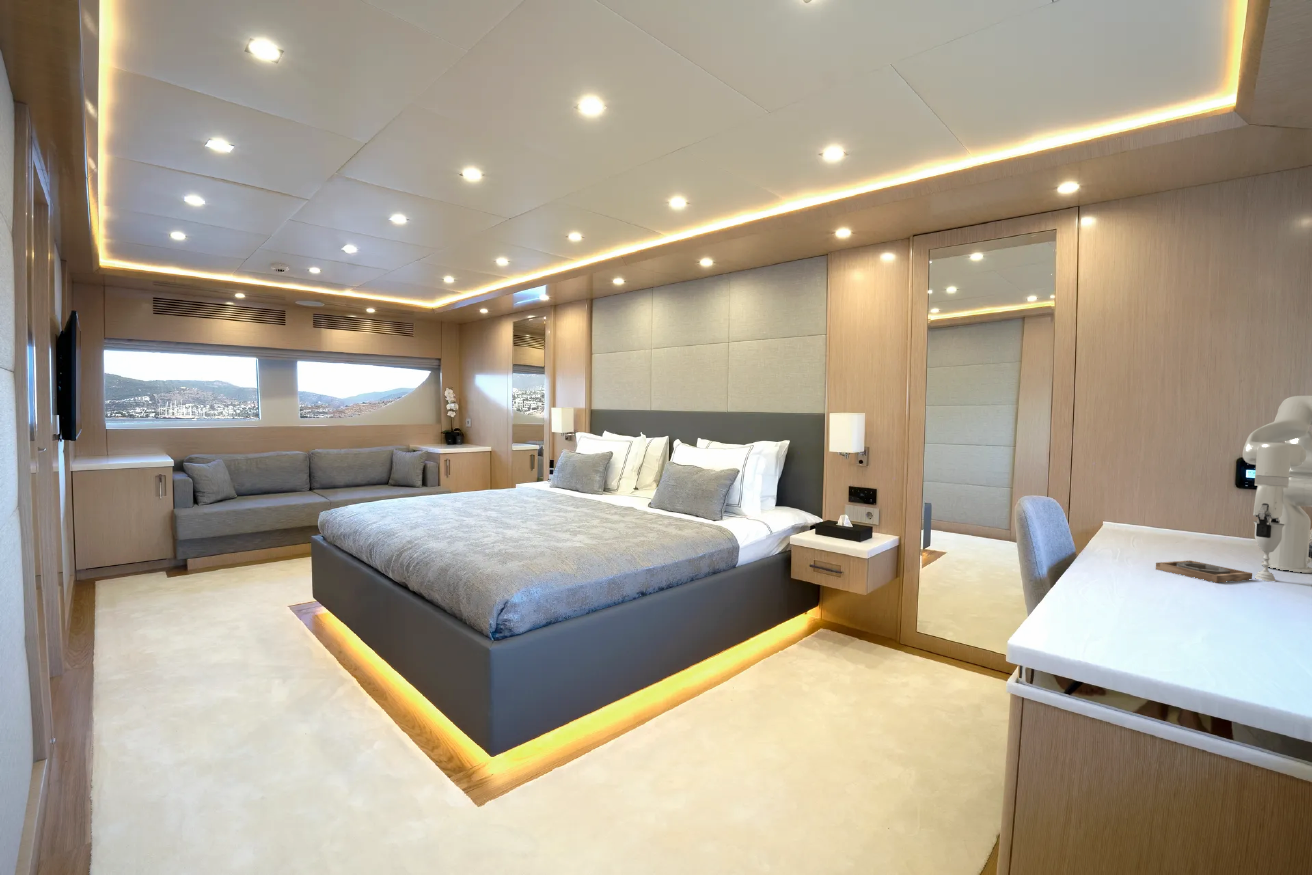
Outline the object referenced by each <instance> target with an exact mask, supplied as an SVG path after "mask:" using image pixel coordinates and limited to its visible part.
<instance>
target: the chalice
mask: <svg viewBox="0 0 1312 875" xmlns="http://www.w3.org/2000/svg"><path fill="white" fill-rule="evenodd" d="M1252 522H1253V523H1254V525H1255V526H1254V538H1255V542H1256V544H1257V546H1258V548H1259V550H1260V551H1261V552H1264V553H1263V554H1264V555H1263V557H1262V559H1263V561H1264V563H1262V564H1263V569H1262V570H1261V571H1257V572H1256V574H1255V576H1254V577H1255V578H1256V579H1255V578H1254V579H1255V580H1258V579H1262V580H1261V581H1263V580H1265V581H1264V582H1270V581H1276V582H1277V580H1276V579H1275V578H1276V577H1275V576H1274V573H1272V572H1270V571H1269V568H1268V566H1269V565H1270V564H1269V563H1268V561H1269V559H1270V558H1269V552H1273V551H1274V550H1275V549H1276V548H1277V546H1278V545H1279V543H1280V542H1281V538H1282V528H1283V526H1284V525H1285V524H1281V523H1274V522H1271V523H1270V525H1271V537H1270V538H1264V537H1257V536H1256V527H1257V520H1253V521H1252Z"/></svg>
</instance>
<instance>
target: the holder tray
mask: <svg viewBox="0 0 1312 875" xmlns="http://www.w3.org/2000/svg"><path fill="white" fill-rule="evenodd" d="M1155 570H1158V571H1161V570H1163V571H1162V572H1166V573H1170V572H1172V573H1171V574H1174V573H1175V575H1179V574H1182V575H1181V576H1183V575H1185V576H1184V577H1189V578H1192V577H1195V578H1194V579H1196V578H1198V579H1197V580H1201V579H1204V580H1203V581H1205V580H1207V581H1206V582H1210V581H1213V582H1212V583H1214V582H1215V584H1220V583H1219V582H1223V583H1227V582H1226V581H1235V582H1243V581H1242V580H1246V581H1250V580H1249V579H1252V580H1253V572H1249V571H1244V570H1239V569H1235V568H1234V569H1233V568H1230V567H1224V566H1220V565H1214V564H1209V563H1204V562H1200V561H1196V560H1195V561H1194V560H1178V561H1177V560H1176V561H1175V560H1174V561H1163V562H1162V561H1160V562H1156V563H1155Z"/></svg>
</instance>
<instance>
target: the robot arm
mask: <svg viewBox="0 0 1312 875" xmlns="http://www.w3.org/2000/svg"><path fill="white" fill-rule="evenodd" d="M1311 426H1312V395H1294V396H1290V397H1288V398H1285V399H1284V400H1283V401H1282V402H1281V404H1280V405H1279V407H1278V409H1277V413H1276V416H1275V418H1274V421H1272V422H1270V423H1267V424H1265V425H1263V426H1260V427H1258V428H1257V429H1254V431H1252V432H1251V433H1249V435H1248V436H1247V439H1246V441H1245V444H1243V445H1244V446H1243V450H1242V459H1243V461H1245V463H1247V464H1249V465H1254V466H1255V472H1254V473H1255V477H1254V486H1257V487H1256V492H1255V497H1254V503H1253V504H1254V506H1253V514H1252V515H1253V516H1254V517H1255V518H1257V520H1256V521H1257V527H1256V536H1257V537H1264V538H1270V537H1271V525H1270V523H1271V522H1274V523H1281V524H1285V525H1284V526H1283V528H1282V538H1281V542H1280V543H1279V545H1278V546H1277V548H1276V549H1275V550H1274V551H1273V552H1269V558H1270V559H1269V561H1268V563H1269V564H1270V565H1269V566H1268V567H1270V568H1269V569H1273V568H1276V569H1275V570H1278V569H1280V571H1283V570H1289V571H1288V572H1290V571H1293V572H1292V573H1300V572H1302V573H1301V574H1312V567H1310V566H1308V565H1309V564H1311V563H1312V558H1311V557H1309V552H1310V551H1309V550H1310V538H1311V537H1310V536H1311V523H1312V521H1311V518H1310V516H1309V514H1307V512H1306V511H1305V510H1304V509H1303V508H1302V507H1309V508H1310V507H1311V508H1312V430H1311V429H1310V428H1311ZM1262 563H1264V560H1263V561H1261V564H1262ZM1262 565H1263V564H1262ZM1262 565H1261V566H1262Z"/></svg>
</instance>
